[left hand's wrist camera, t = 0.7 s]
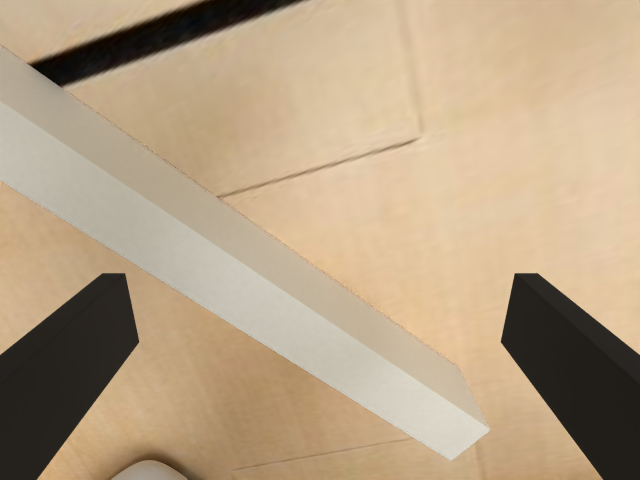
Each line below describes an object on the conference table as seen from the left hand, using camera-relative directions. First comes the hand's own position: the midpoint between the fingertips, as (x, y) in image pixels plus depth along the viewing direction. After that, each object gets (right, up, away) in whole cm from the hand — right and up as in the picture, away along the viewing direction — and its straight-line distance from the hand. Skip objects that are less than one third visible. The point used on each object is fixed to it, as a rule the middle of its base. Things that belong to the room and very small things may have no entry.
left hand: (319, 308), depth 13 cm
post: (-9, +2, +25) cm, 26 cm away
